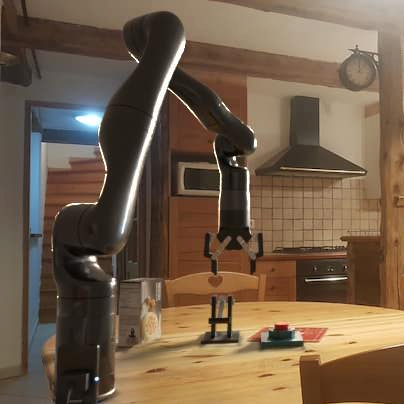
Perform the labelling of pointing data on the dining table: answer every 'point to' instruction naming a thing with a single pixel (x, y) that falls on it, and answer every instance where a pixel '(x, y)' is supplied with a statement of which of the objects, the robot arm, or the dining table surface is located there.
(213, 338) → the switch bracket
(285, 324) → the stop button
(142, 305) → the coffee box
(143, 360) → the dining table surface
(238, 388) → the dining table surface
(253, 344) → the dining table surface
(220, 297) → the lever
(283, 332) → the button housing
